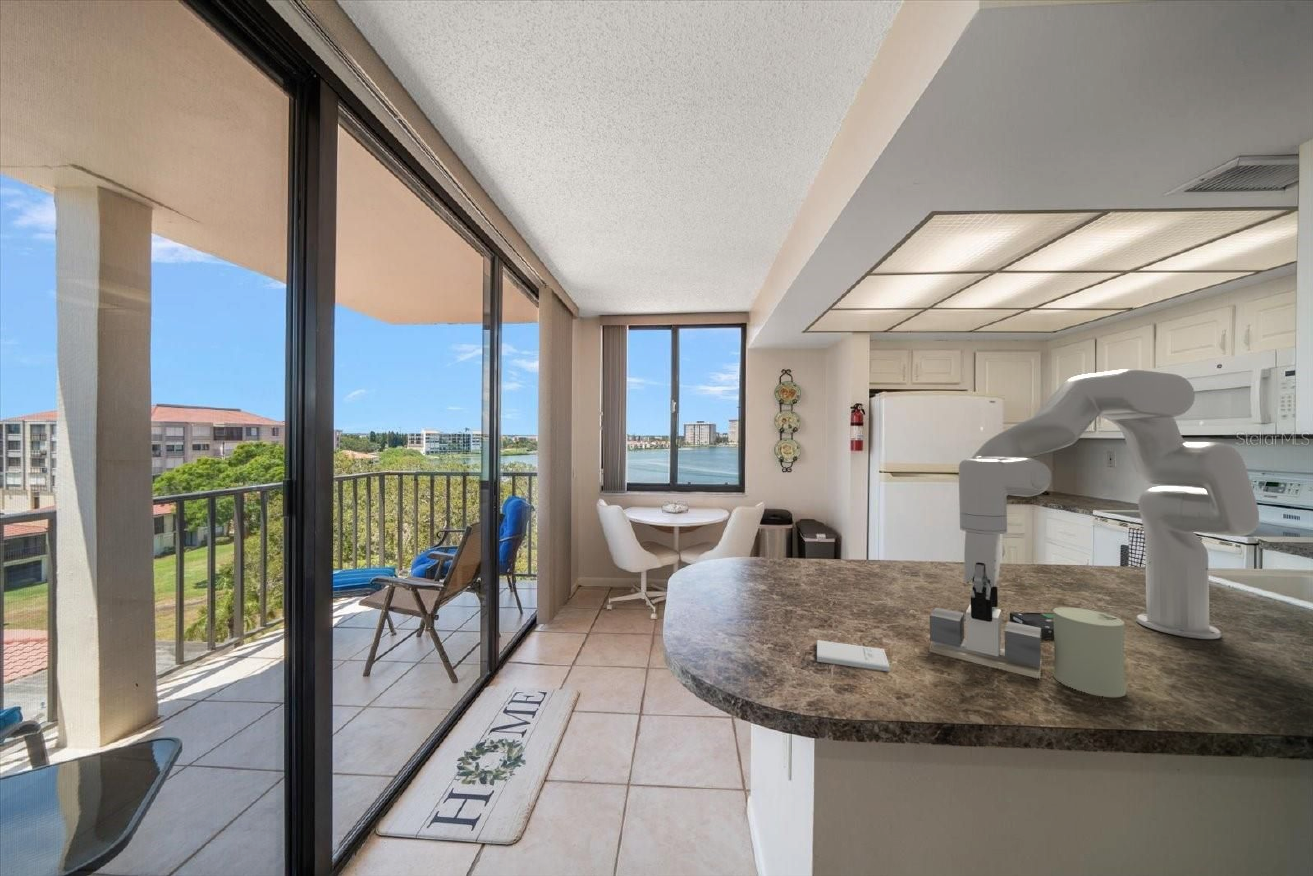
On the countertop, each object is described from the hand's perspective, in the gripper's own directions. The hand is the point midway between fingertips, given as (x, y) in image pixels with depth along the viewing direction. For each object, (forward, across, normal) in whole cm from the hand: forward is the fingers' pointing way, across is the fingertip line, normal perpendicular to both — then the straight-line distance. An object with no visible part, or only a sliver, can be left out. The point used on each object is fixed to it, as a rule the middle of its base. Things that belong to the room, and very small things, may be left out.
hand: (984, 612), depth 91 cm
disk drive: (+10, -27, +11) cm, 31 cm away
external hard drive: (+9, +16, -20) cm, 27 cm away
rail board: (+9, 0, 0) cm, 9 cm away
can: (+9, 0, +14) cm, 17 cm away
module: (+7, 0, 0) cm, 7 cm away
